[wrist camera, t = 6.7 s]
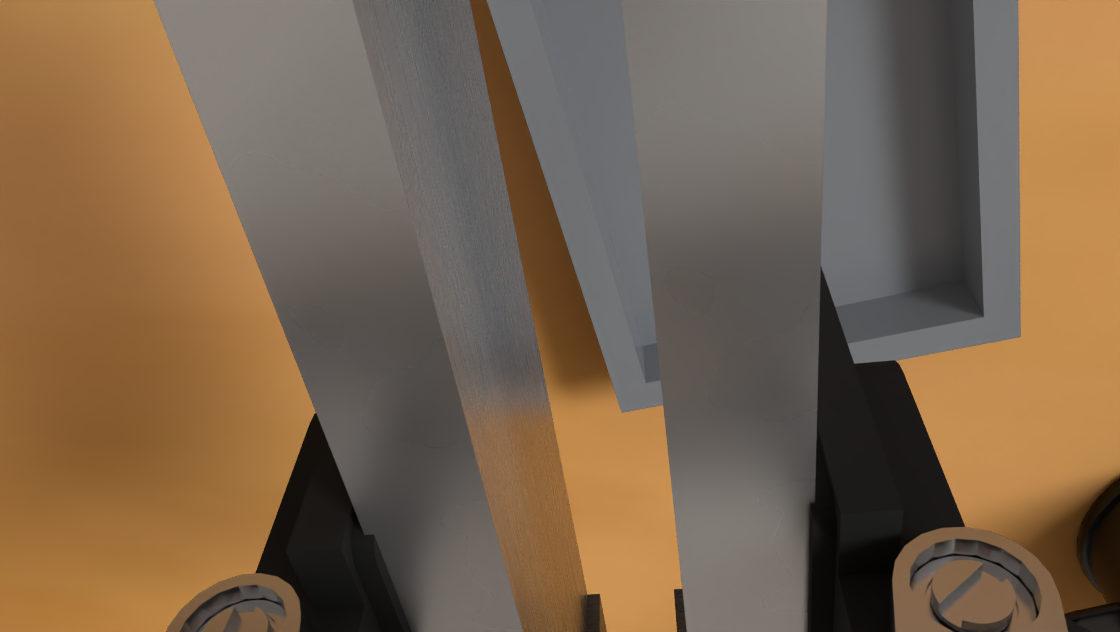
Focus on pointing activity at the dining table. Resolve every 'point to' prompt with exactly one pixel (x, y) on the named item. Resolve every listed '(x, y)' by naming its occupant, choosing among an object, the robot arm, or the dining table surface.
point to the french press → (1101, 561)
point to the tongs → (502, 299)
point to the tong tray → (848, 172)
